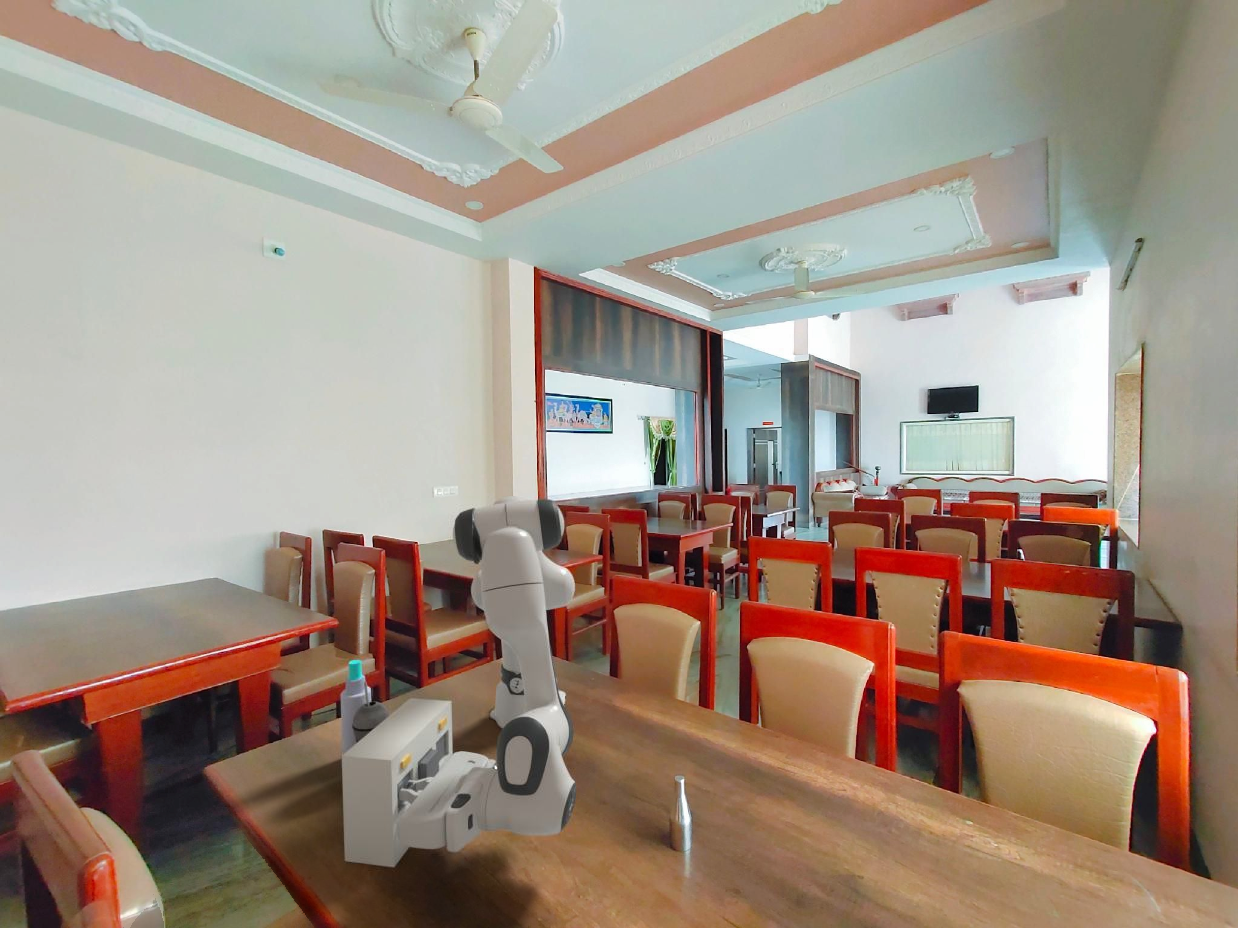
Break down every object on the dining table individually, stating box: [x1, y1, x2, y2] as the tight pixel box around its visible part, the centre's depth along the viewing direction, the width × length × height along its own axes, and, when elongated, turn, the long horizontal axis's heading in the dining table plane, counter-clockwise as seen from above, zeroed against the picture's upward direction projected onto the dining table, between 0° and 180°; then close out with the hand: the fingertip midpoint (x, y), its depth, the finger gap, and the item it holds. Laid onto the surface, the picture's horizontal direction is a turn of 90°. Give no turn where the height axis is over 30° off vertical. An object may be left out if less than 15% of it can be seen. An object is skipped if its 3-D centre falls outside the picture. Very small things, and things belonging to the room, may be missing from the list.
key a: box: [397, 771, 410, 808], centre depth 94 cm, size 4×4×4 cm
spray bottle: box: [340, 659, 372, 756], centre depth 122 cm, size 6×6×22 cm
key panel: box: [341, 697, 454, 868], centre depth 101 cm, size 21×9×18 cm, turn 170°
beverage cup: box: [352, 681, 390, 743], centre depth 115 cm, size 7×7×20 cm
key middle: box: [418, 749, 439, 780], centre depth 100 cm, size 4×4×4 cm
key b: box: [436, 734, 446, 760], centre depth 107 cm, size 4×4×4 cm
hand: (403, 789), depth 94 cm, fingers closed, pressing on key a
